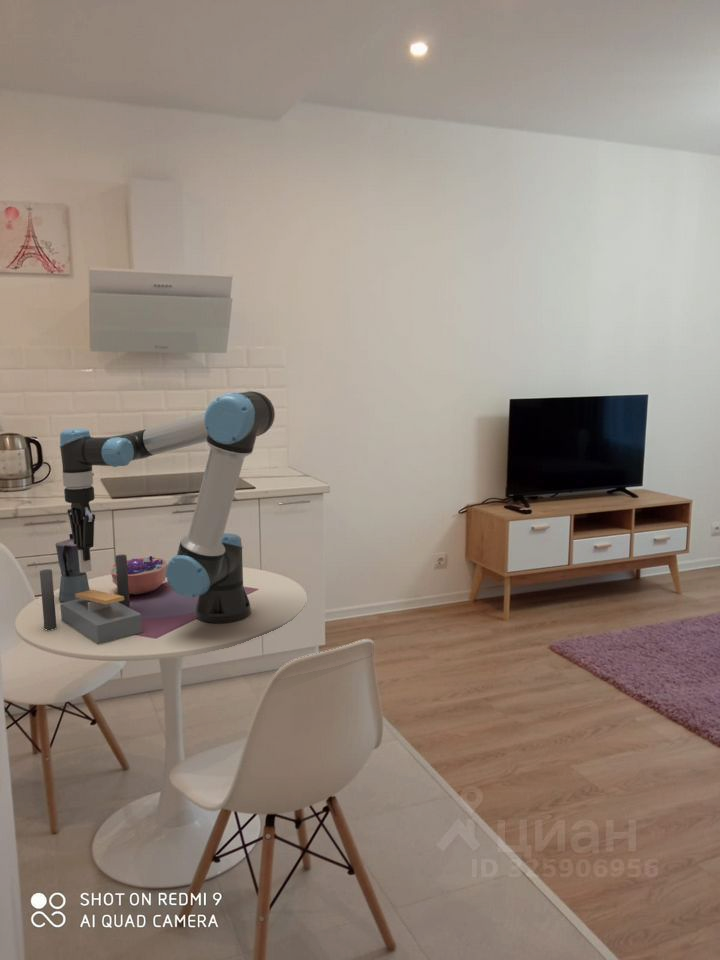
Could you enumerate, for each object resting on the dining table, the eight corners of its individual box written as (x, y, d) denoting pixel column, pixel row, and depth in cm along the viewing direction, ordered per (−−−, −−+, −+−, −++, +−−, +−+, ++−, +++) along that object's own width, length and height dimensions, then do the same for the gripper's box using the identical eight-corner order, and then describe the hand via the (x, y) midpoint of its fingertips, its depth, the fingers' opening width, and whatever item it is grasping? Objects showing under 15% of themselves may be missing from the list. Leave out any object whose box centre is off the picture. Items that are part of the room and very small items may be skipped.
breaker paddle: (124, 600, 195) (123, 596, 195) (105, 604, 192) (105, 600, 192) (93, 593, 210) (92, 589, 210) (75, 597, 207) (75, 593, 207)
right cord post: (131, 610, 215) (128, 555, 212) (121, 612, 213) (118, 558, 210) (127, 607, 217) (123, 554, 215) (117, 609, 215) (113, 555, 213)
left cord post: (58, 628, 201) (53, 570, 198) (47, 631, 199) (42, 573, 196) (54, 625, 203) (49, 568, 200) (42, 628, 201) (37, 570, 198)
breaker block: (142, 632, 198) (140, 605, 196) (98, 644, 190) (96, 616, 188) (103, 610, 215) (101, 585, 214) (61, 620, 207) (59, 595, 206)
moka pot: (96, 590, 233) (91, 528, 230) (87, 607, 218) (82, 540, 215) (64, 592, 231) (59, 529, 228) (52, 609, 216) (47, 542, 213)
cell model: (179, 582, 241) (177, 548, 239) (153, 602, 221) (151, 565, 219) (129, 580, 243) (126, 546, 241) (99, 600, 224) (96, 564, 222)
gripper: (102, 487, 200) (109, 573, 204) (82, 482, 209) (89, 564, 213) (74, 491, 195) (81, 579, 199) (55, 485, 204) (62, 569, 208)
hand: (85, 571), depth 206 cm, fingers closed
